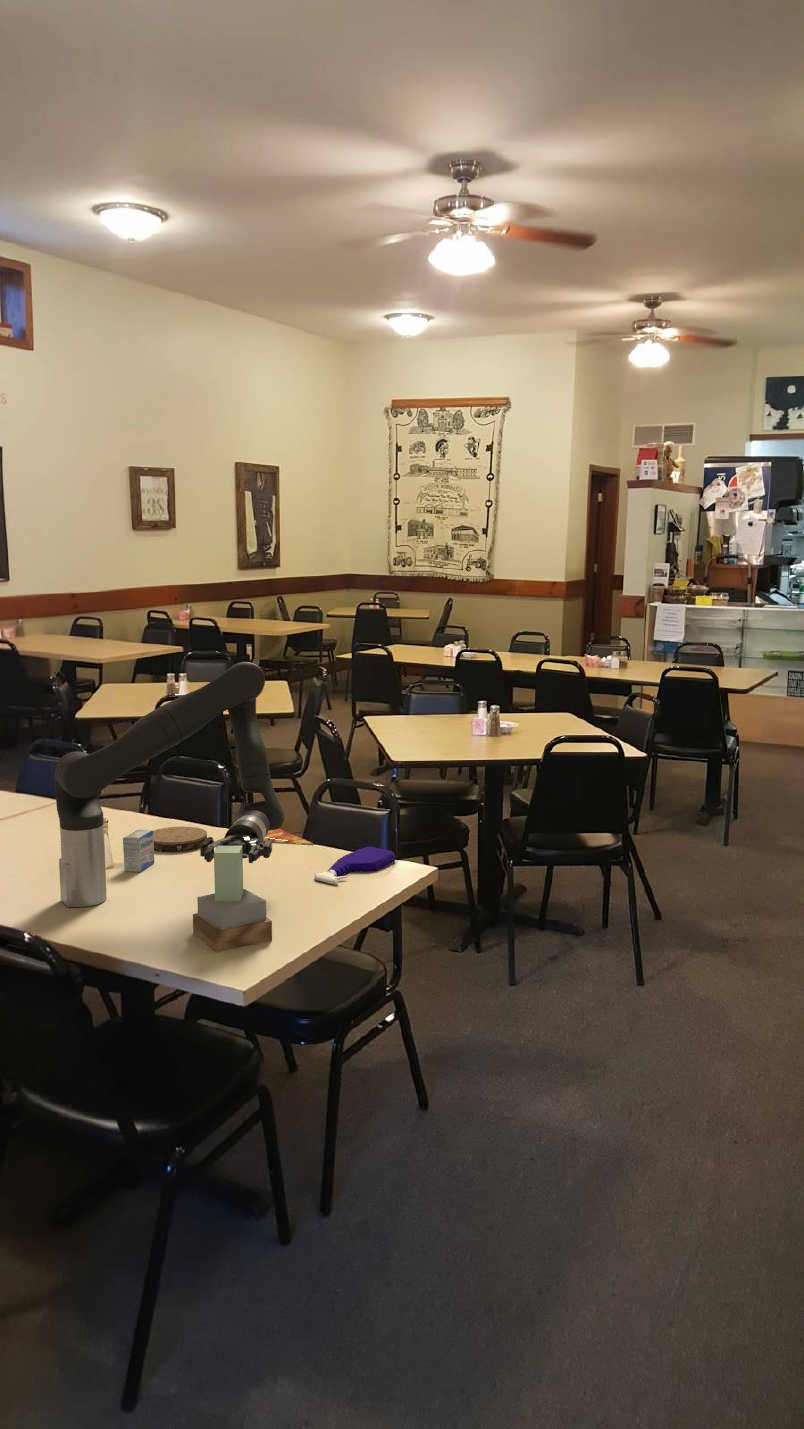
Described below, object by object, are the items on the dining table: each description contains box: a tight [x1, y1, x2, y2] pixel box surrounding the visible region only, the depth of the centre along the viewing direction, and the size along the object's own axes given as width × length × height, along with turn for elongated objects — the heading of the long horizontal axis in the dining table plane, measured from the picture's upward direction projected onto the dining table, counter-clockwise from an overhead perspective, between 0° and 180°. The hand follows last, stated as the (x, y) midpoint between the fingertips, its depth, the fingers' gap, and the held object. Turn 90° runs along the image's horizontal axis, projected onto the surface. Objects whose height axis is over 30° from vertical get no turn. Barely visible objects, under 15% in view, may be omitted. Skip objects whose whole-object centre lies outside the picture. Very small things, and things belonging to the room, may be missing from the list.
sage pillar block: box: [213, 846, 244, 901], centre depth 202 cm, size 5×5×10 cm
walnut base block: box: [192, 912, 273, 953], centre depth 203 cm, size 12×12×4 cm
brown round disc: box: [153, 826, 208, 854], centre depth 269 cm, size 16×16×3 cm
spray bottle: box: [314, 846, 396, 885], centre depth 248 cm, size 3×11×24 cm
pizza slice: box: [263, 828, 314, 846], centre depth 274 cm, size 16×22×2 cm
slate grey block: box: [196, 888, 267, 930], centre depth 203 cm, size 10×10×4 cm
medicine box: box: [122, 828, 155, 873], centre depth 248 cm, size 8×4×9 cm, turn 168°
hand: (229, 857), depth 201 cm, fingers open, 8 cm apart
